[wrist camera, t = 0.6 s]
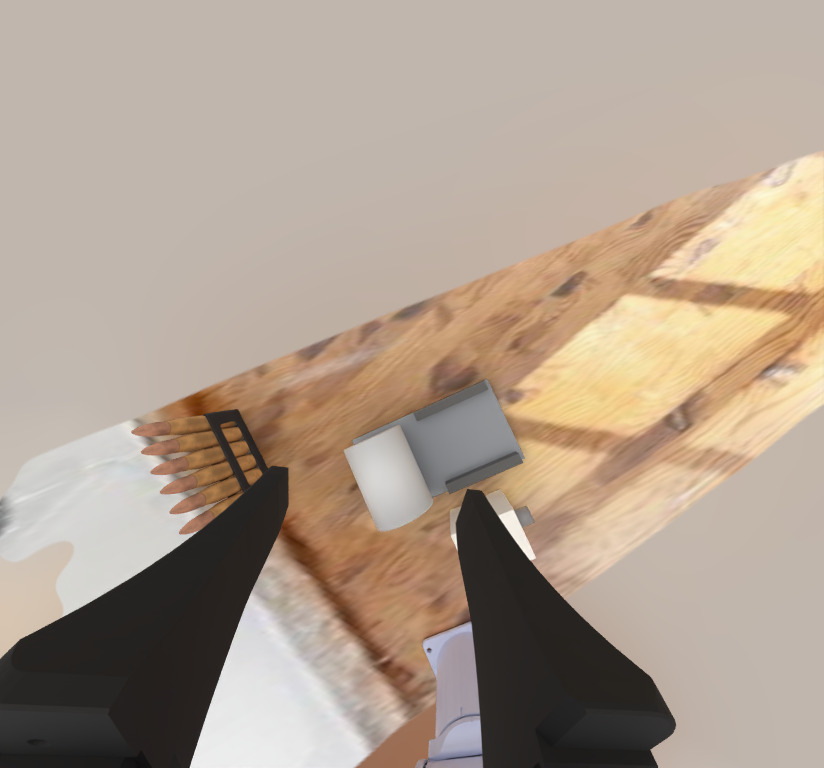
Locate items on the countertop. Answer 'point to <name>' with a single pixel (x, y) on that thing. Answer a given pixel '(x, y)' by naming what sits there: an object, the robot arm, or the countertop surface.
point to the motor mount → (432, 454)
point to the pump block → (504, 520)
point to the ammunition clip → (206, 461)
